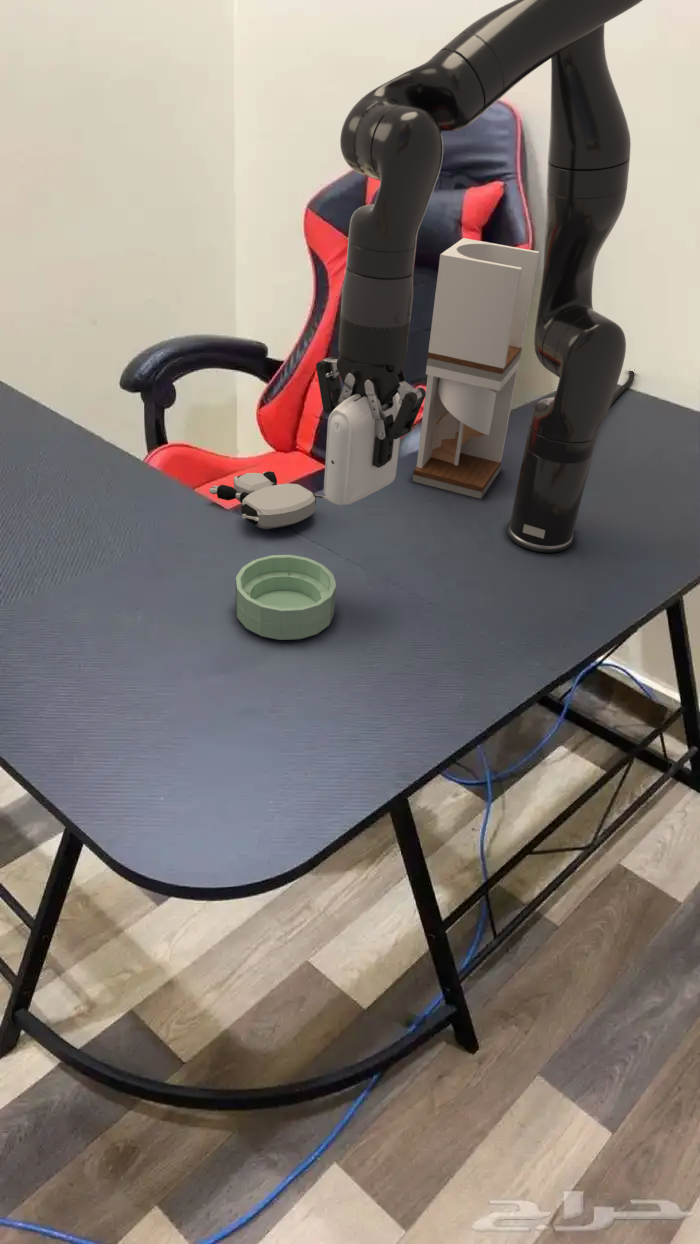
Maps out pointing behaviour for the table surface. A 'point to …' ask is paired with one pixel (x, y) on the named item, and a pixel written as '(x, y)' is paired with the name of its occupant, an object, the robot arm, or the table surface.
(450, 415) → the white tower
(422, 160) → the robot arm
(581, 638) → the table surface
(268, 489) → the robot toy
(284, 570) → the bowl
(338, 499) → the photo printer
